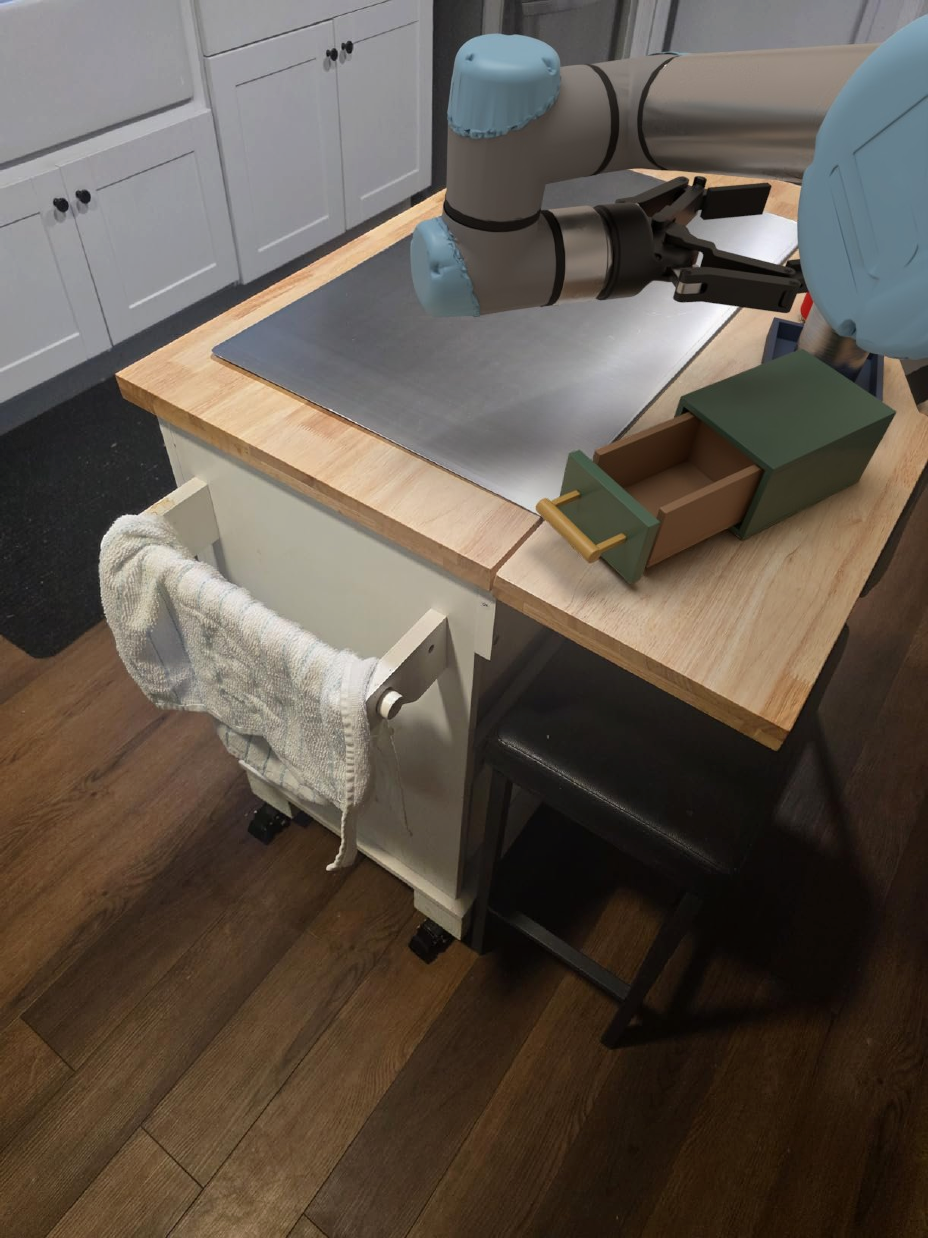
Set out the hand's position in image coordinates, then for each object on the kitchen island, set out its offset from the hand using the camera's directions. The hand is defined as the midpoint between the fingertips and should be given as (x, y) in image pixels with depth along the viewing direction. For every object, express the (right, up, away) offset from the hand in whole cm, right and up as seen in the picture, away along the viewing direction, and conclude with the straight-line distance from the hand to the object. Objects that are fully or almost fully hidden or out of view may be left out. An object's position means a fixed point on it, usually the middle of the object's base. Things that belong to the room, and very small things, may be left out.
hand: (804, 232), depth 79 cm
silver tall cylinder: (+8, -9, +16) cm, 20 cm away
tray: (+8, -10, +16) cm, 20 cm away
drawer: (-15, -27, -1) cm, 31 cm away
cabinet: (-2, -21, +6) cm, 22 cm away
